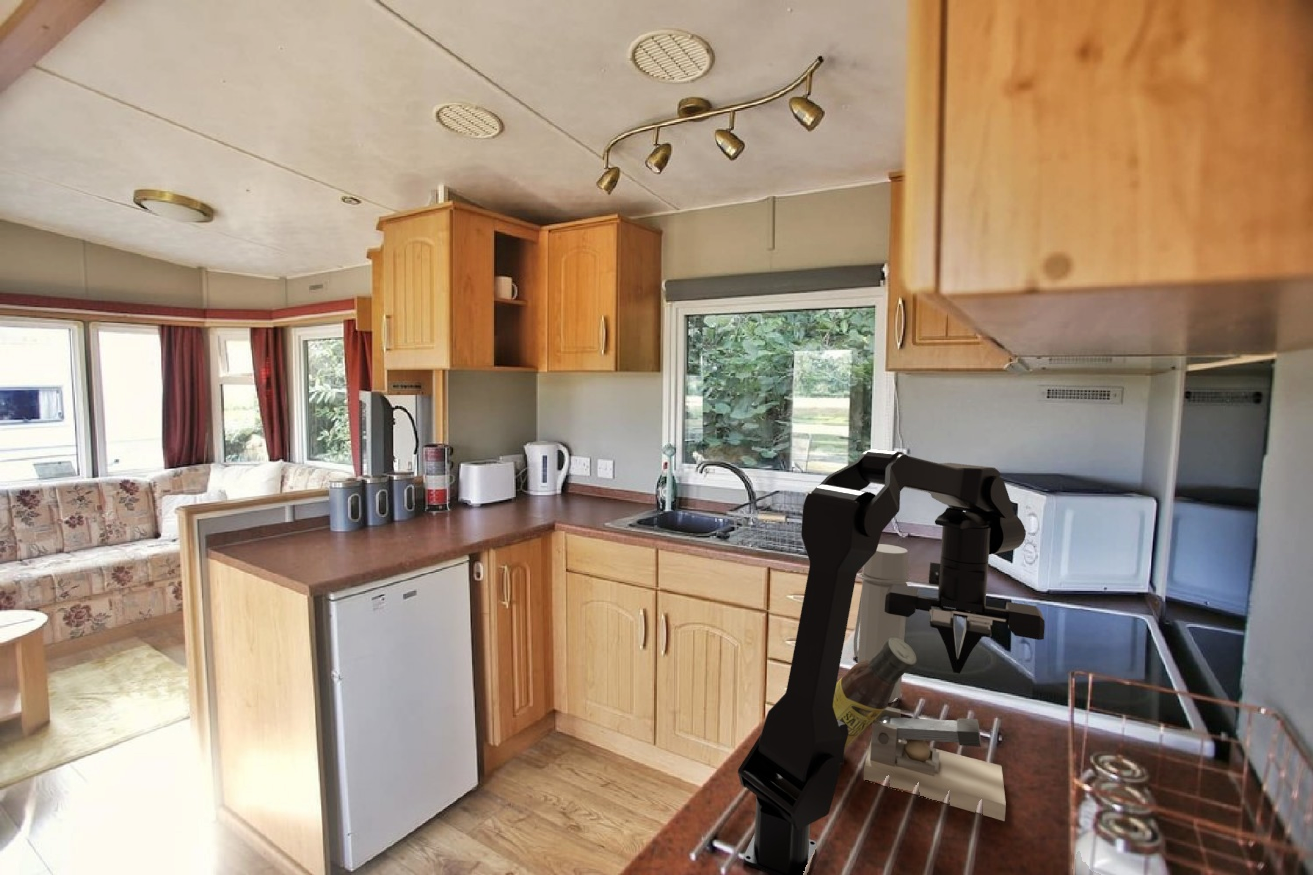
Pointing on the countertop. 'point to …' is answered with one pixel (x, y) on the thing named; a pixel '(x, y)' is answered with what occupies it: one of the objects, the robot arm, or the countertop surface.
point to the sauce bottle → (870, 686)
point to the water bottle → (880, 604)
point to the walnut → (917, 750)
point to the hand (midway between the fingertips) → (956, 672)
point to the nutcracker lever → (937, 730)
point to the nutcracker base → (934, 772)
